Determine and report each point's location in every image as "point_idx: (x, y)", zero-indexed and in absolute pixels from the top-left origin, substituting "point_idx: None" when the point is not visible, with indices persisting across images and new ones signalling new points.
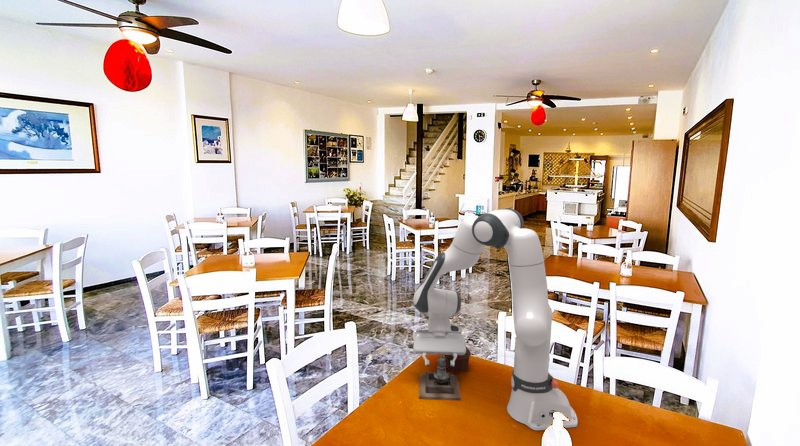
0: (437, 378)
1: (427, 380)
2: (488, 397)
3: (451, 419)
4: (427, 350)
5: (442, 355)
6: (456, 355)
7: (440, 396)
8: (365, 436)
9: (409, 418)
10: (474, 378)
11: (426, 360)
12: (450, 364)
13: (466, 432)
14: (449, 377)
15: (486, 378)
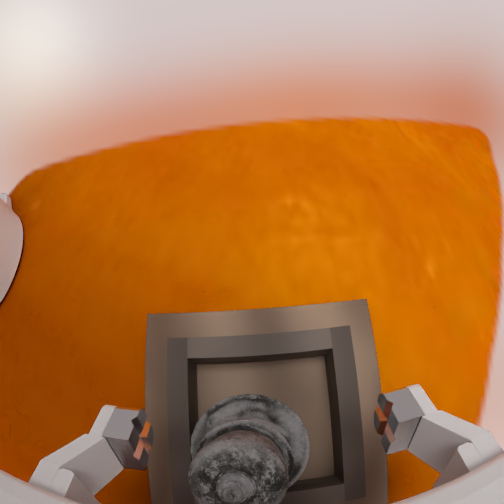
0: (278, 401)
1: (347, 398)
2: (42, 345)
3: (210, 194)
4: (473, 479)
5: (221, 493)
6: (42, 465)
7: (254, 314)
8: (436, 127)
9: (365, 183)
10: None
11: (423, 409)
12: (143, 422)
13: (170, 152)
14: None
15: None
